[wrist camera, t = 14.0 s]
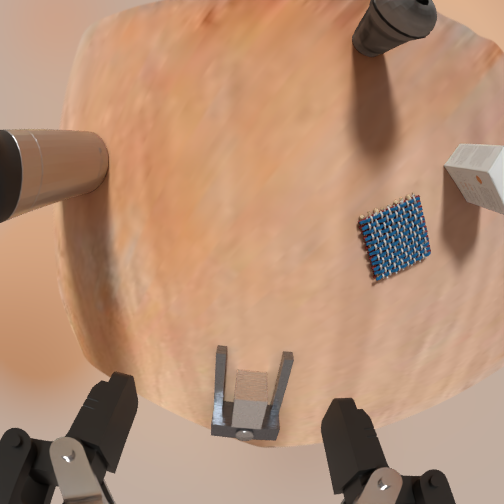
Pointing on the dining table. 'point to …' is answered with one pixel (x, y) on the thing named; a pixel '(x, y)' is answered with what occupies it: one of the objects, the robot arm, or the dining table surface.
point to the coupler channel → (225, 409)
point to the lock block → (250, 399)
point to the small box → (479, 174)
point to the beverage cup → (393, 25)
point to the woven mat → (395, 236)
